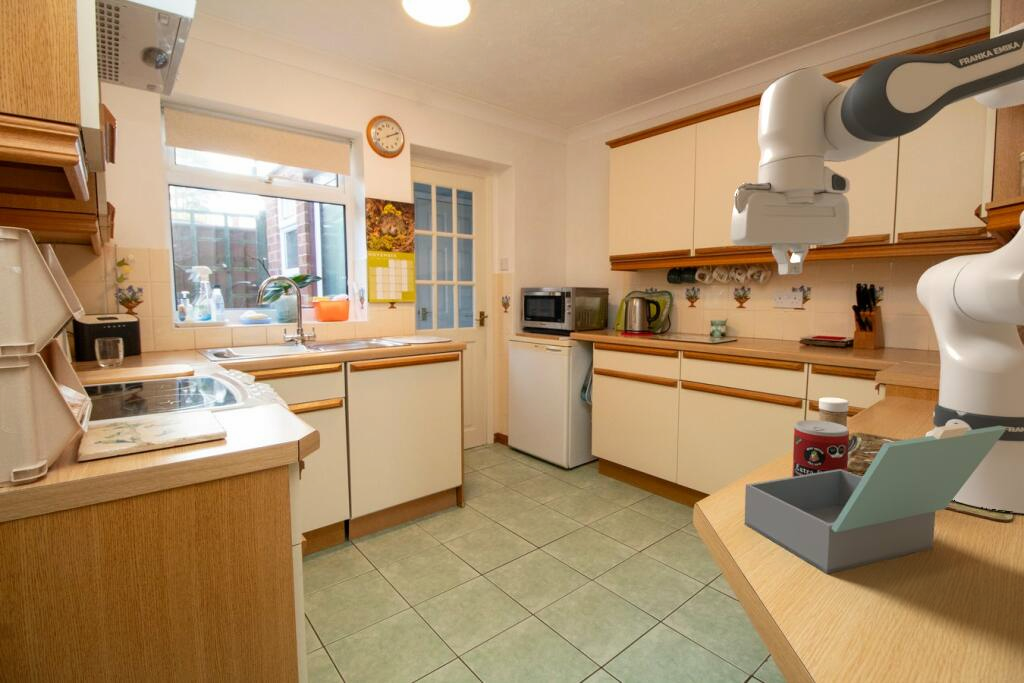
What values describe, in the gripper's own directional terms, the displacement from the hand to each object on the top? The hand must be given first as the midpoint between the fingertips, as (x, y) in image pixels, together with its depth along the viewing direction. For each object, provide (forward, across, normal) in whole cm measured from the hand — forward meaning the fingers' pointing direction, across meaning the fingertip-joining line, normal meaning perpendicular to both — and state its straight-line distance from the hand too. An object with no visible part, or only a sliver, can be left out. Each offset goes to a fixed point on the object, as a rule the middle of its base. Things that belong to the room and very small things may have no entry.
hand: (790, 274), depth 75 cm
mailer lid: (+24, -4, -21) cm, 33 cm away
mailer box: (+36, -5, -11) cm, 38 cm away
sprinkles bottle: (+37, +18, +7) cm, 41 cm away
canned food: (+37, +8, +1) cm, 37 cm away
